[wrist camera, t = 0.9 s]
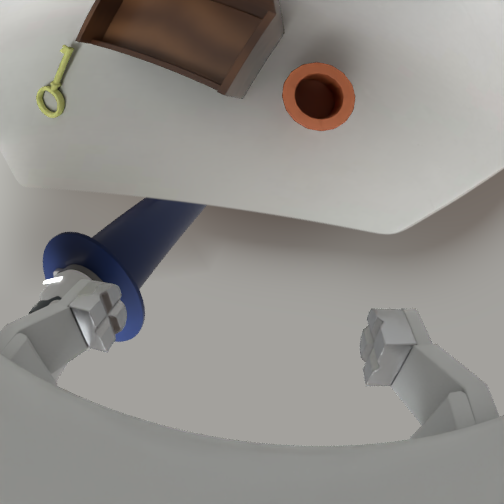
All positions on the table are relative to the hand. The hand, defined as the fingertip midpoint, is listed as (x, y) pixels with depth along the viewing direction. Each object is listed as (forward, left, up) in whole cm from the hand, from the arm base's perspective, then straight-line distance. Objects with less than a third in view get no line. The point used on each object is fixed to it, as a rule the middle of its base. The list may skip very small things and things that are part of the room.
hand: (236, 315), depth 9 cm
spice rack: (+9, +17, -28) cm, 34 cm away
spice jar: (+8, 0, -28) cm, 29 cm away
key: (-4, +36, -28) cm, 46 cm away
